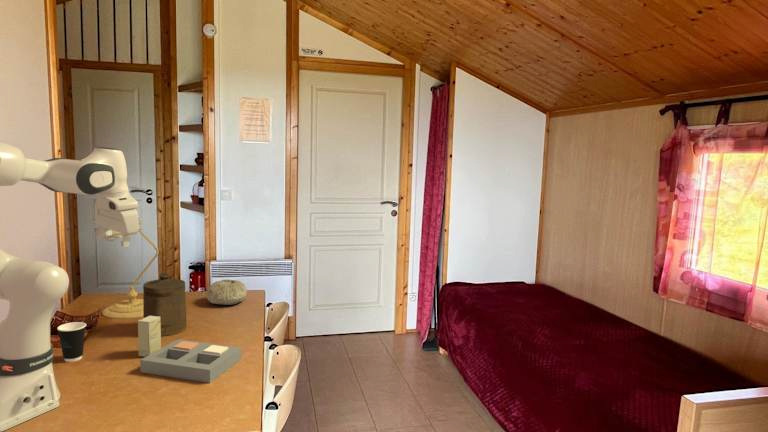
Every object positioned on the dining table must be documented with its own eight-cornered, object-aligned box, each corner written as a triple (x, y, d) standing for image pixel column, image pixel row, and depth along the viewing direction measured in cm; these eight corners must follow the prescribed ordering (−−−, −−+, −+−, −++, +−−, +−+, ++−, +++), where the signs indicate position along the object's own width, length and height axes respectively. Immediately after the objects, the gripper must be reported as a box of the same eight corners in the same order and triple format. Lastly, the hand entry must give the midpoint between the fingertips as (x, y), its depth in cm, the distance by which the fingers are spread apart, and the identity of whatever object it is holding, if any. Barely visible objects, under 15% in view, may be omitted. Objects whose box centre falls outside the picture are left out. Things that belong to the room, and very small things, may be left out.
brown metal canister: (170, 320, 197) (169, 267, 195) (194, 328, 190) (193, 272, 187) (135, 330, 185) (133, 274, 182) (160, 339, 177) (158, 280, 175)
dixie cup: (88, 352, 164) (86, 320, 163) (87, 361, 157) (85, 328, 156) (59, 356, 160) (58, 323, 159) (57, 365, 153) (55, 331, 152)
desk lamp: (107, 301, 219) (104, 212, 214) (163, 298, 226) (162, 212, 222) (92, 324, 190) (88, 222, 185) (157, 319, 198) (155, 221, 193)
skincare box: (149, 357, 161) (148, 322, 160) (137, 356, 162) (136, 320, 161) (162, 350, 167) (161, 316, 166) (150, 349, 168) (149, 315, 167)
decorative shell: (233, 310, 212) (233, 288, 211) (197, 306, 216) (197, 284, 215) (253, 299, 229) (253, 278, 228) (219, 295, 233) (219, 275, 232)
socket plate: (210, 382, 145) (209, 368, 145) (140, 372, 151) (140, 358, 150) (241, 359, 163) (241, 346, 162) (177, 350, 168) (177, 337, 167)
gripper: (86, 196, 153) (91, 239, 156) (119, 206, 141) (124, 252, 145) (107, 194, 158) (111, 235, 161) (141, 203, 146) (145, 247, 150)
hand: (117, 243), depth 153 cm, fingers open, 8 cm apart
